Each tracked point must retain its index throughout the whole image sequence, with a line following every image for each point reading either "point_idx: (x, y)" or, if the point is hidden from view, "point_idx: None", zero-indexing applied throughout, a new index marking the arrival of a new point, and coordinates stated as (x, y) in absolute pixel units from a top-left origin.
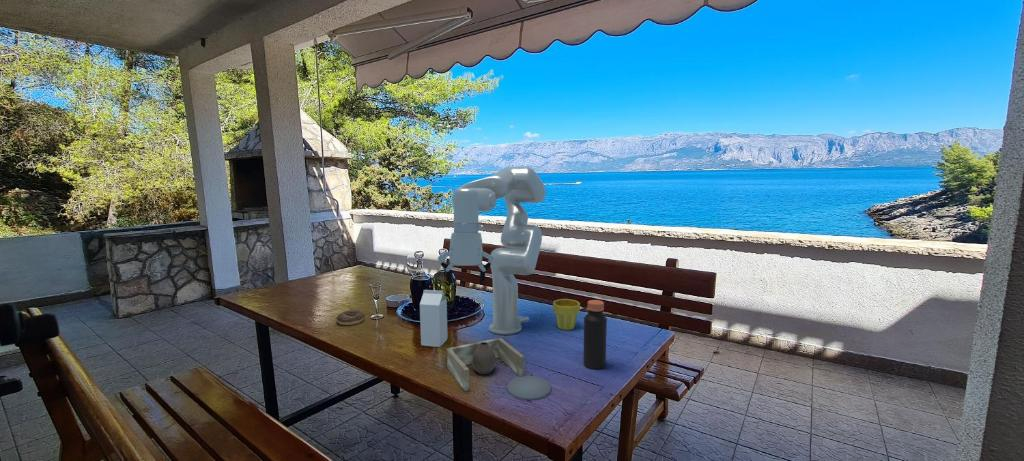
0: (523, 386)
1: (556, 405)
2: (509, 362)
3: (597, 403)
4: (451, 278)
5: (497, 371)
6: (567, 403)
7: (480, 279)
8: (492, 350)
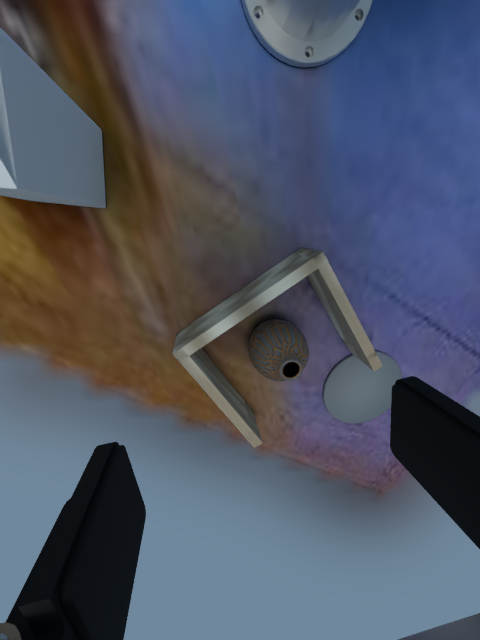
0: (353, 392)
1: None
2: (330, 312)
3: None
4: (128, 543)
5: None
6: None
7: (424, 486)
8: (307, 355)
